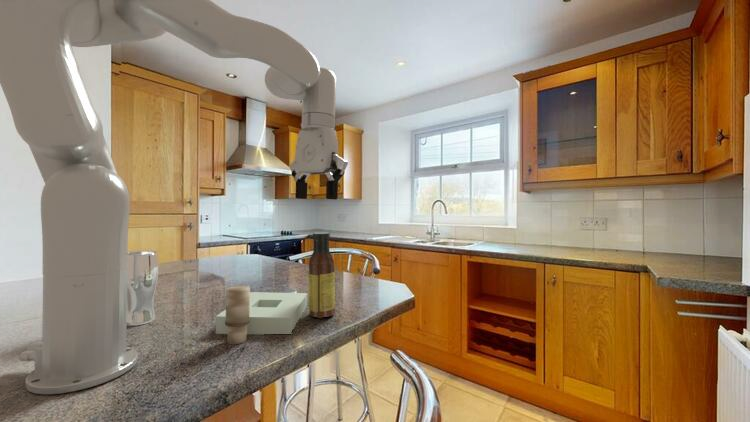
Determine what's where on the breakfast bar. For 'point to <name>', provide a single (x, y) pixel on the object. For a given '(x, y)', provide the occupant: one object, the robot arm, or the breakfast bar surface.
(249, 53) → the robot arm
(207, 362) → the breakfast bar surface
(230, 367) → the breakfast bar surface
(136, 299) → the beer glass
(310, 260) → the sauce bottle
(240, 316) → the peg
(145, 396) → the breakfast bar surface
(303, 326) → the breakfast bar surface
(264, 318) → the seat board
